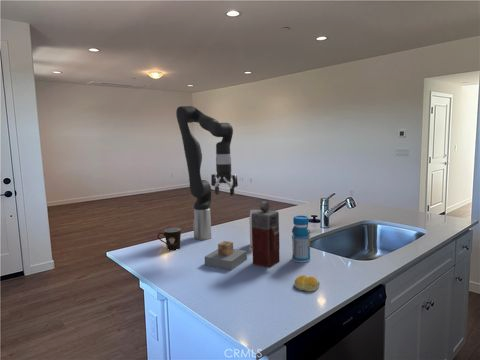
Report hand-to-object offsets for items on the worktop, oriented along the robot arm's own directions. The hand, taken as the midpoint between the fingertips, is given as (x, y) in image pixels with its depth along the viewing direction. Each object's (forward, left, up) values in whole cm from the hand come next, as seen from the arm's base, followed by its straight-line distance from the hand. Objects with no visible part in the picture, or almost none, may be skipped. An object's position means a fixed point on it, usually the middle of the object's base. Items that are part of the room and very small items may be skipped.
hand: (224, 194), depth 166 cm
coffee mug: (-27, -12, -28) cm, 41 cm away
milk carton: (+13, +10, -28) cm, 33 cm away
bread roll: (+51, -25, -28) cm, 63 cm away
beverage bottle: (+40, 0, -28) cm, 49 cm away
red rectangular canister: (+28, -10, -28) cm, 41 cm away
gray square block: (+10, -17, -28) cm, 34 cm away
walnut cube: (+10, -17, -24) cm, 31 cm away
